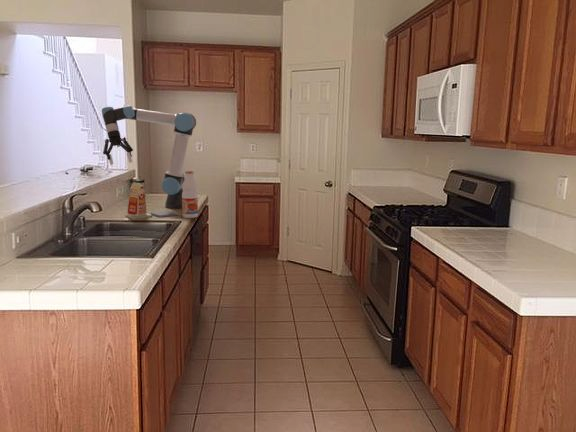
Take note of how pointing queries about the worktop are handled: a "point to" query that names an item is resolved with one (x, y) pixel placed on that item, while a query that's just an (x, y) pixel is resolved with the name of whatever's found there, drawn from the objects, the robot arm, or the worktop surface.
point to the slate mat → (163, 214)
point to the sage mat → (139, 216)
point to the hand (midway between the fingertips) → (121, 163)
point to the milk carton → (136, 201)
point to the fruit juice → (189, 196)
